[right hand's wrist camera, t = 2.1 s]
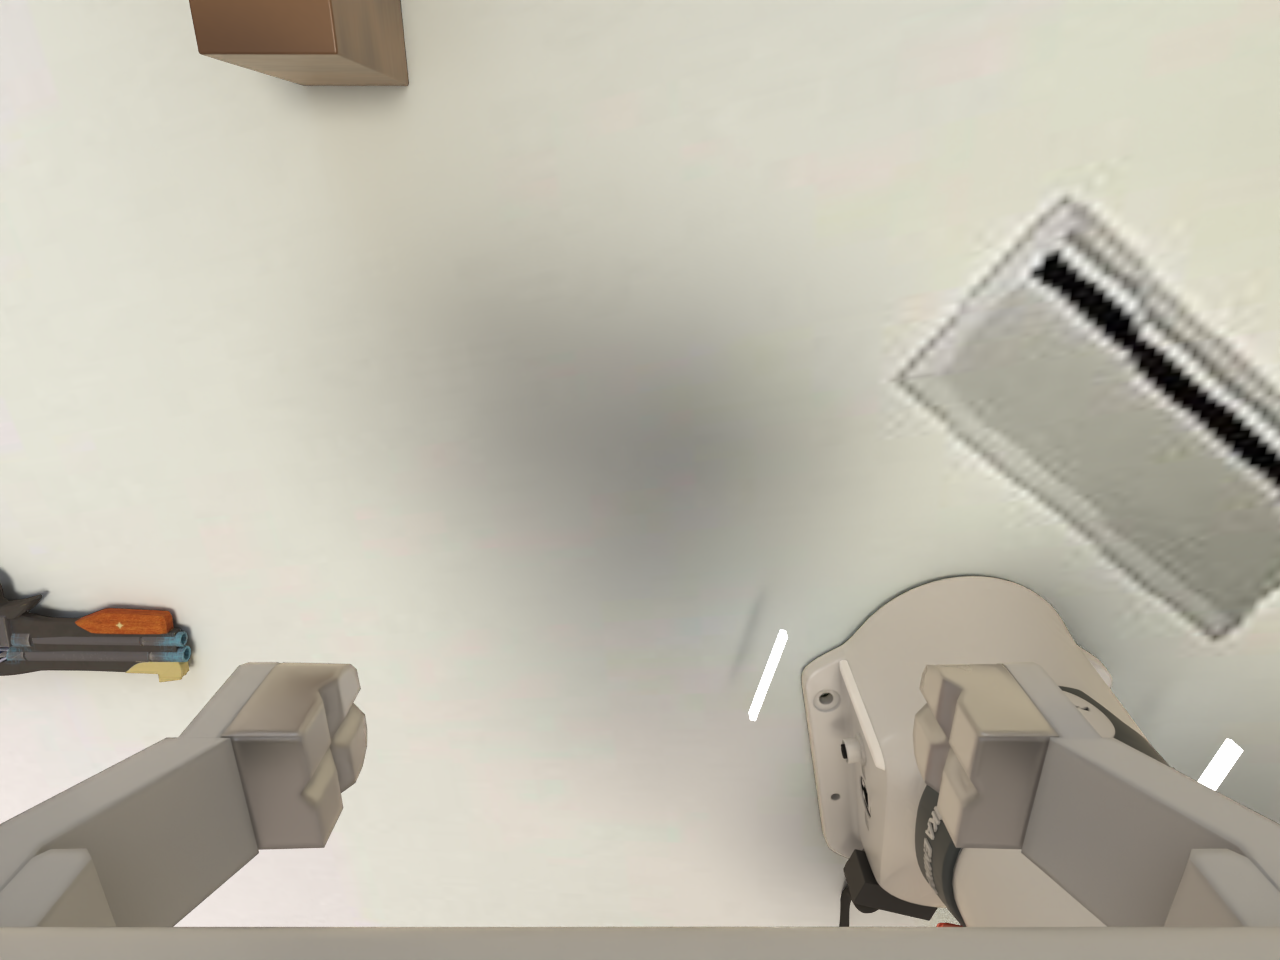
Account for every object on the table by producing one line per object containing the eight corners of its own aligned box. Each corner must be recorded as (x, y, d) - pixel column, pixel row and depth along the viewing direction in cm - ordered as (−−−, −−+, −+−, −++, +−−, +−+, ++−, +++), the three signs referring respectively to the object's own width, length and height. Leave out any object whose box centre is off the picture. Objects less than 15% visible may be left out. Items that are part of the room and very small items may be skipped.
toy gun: (-215, 521, 40) (-173, 688, 42) (160, 530, 41) (178, 691, 44) (-166, 506, 42) (-129, 665, 45) (185, 515, 44) (201, 668, 46)
